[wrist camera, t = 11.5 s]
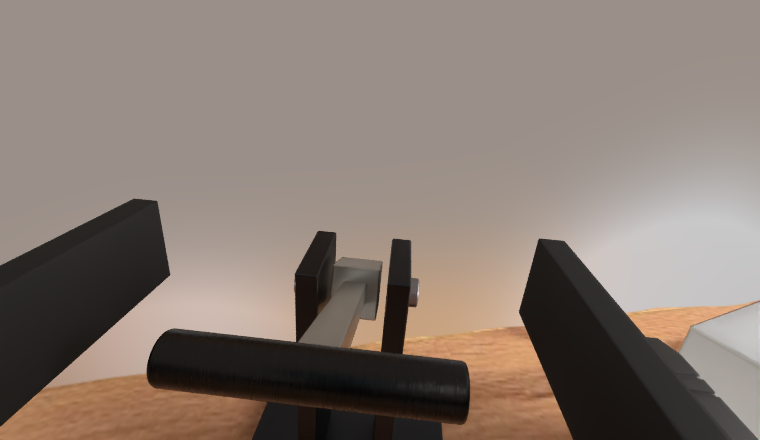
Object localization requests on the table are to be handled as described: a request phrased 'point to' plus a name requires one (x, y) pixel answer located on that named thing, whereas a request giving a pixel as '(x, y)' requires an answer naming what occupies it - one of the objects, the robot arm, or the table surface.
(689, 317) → the table surface
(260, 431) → the black lever stand
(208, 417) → the table surface
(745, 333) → the small box
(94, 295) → the robot arm
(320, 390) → the latch lever
